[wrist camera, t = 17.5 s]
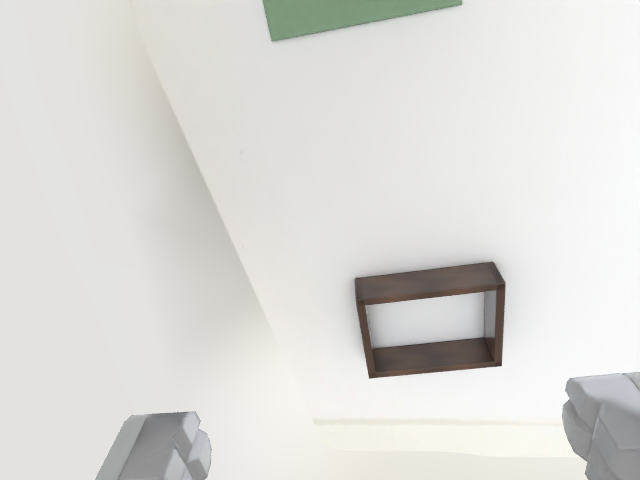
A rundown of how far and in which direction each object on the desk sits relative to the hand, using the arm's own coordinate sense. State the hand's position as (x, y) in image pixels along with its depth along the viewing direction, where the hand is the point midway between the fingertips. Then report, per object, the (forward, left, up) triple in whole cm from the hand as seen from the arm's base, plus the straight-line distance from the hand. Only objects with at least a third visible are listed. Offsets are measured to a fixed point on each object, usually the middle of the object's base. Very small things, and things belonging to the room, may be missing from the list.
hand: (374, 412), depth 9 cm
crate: (+5, -22, -29) cm, 37 cm away
